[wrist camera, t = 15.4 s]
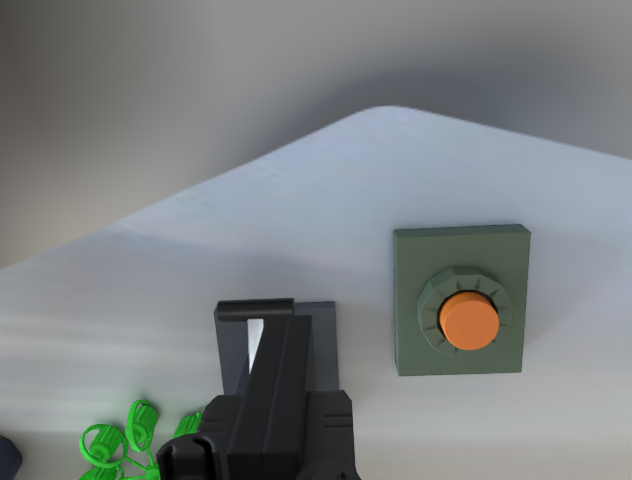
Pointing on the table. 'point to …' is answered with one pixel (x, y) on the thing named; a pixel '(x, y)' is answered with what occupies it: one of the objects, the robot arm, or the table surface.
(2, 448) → the speaker
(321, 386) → the switch bracket
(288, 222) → the table surface
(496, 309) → the stop box
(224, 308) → the switch lever
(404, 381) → the table surface
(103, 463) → the chandelier
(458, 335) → the stop button
